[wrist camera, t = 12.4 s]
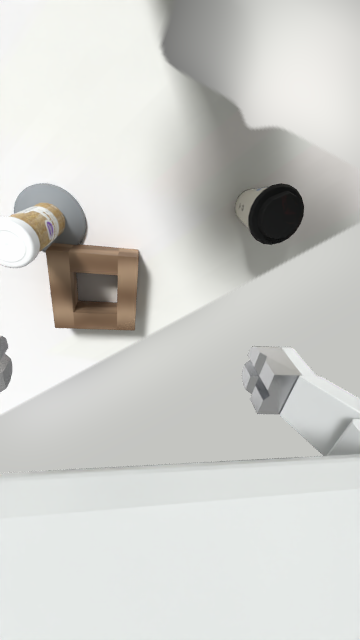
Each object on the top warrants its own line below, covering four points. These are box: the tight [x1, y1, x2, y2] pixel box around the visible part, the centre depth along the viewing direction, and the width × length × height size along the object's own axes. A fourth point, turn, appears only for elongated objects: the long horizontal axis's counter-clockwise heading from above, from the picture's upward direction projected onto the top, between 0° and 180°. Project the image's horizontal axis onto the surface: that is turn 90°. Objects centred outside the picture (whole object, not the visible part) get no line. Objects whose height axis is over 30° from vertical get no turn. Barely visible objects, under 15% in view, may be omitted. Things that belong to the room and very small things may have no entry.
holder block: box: [46, 243, 139, 330], centre depth 40 cm, size 12×12×4 cm
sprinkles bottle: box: [0, 203, 65, 268], centre depth 30 cm, size 5×5×13 cm
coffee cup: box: [235, 184, 304, 245], centre depth 35 cm, size 7×7×10 cm
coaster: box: [14, 184, 86, 252], centre depth 36 cm, size 9×9×1 cm
